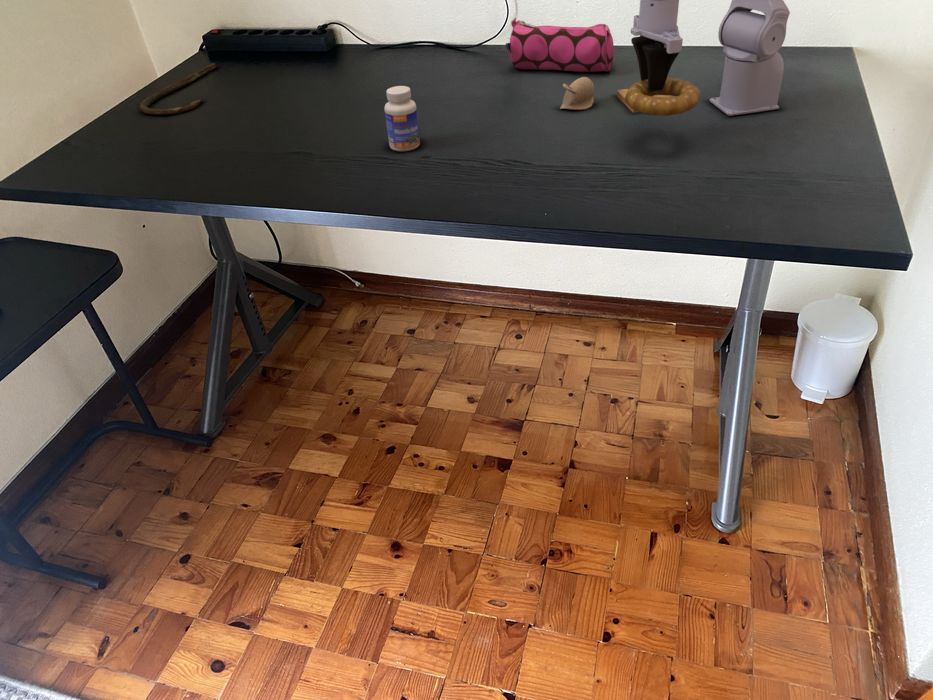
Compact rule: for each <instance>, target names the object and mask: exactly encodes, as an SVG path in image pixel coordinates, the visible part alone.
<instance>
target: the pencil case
mask: <svg viewBox="0 0 933 700" xmlns="http://www.w3.org/2000/svg"><path fill="white" fill-rule="evenodd" d="M510 22H511V23H510V25H511V27H512V30H511V33H510V38H509V42H506V43H505V49H506V50H507V53H509V60H510V63H511V65H512V66H513V67H514V68H516V69H520V70H535V71H536V70H537V71H538V70H539V71H550V70H554V71H564V72H578V73H579V72H580V73H594V72H596V73H597V72H610V71H611V68H612V63H613V60H614V54H615V53H614V52H615V50H614V49H615V48H614V47H615V46H614V39H613V38H614V37H613V35H612V33H611V29H610V28H609V25H607V24H605V23H597V24H594V25H592V26H587V27H586V26H559V25H534V24H532V23H527V22H525V21H524V20H519V19H518V20H517V17H514V18H513V19H512V20H511V21H510Z"/></svg>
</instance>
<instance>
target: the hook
mask: <svg viewBox="0 0 933 700" xmlns="http://www.w3.org/2000/svg"><path fill="white" fill-rule="evenodd" d="M216 68H217V65H216V63H215V62H211V63H209V64H207V66H206V67H203V68H201V69H200V70H198V71H196V72H193V73H192V74H190V75H188V76H187V77H184V78H183V79H180V80H178V81H176V82H174V83H173V84H170V85H168V86H165V87H163V88H161V89H160V90H158V91H156V92H154V93H152V94H151V95H149V96H147V97H146V98H145V99H144V100H142V101H141V102H140V105H139V109H140V111H141V112H142V113H145V114H147V115H152V116H171V115H178V114H183V113H186V112H189V111H191V110H193V109H195V108H196V107H198V106H199V105H200V104H201V103H202V101H203V100H204V99H203V98H201V99H197V100H194V101H192V102H189V103H188V104H186V105H182V106H179V107H173V108H172V107H171V108H170V107H169V108H152V107H151V108H150V106H151V105H152V104H153V103H155V102H156V101H158V100H160V99H161V98H163V97H165V96H168V95H169V94H171V93H174V92H175V91H177V90H180V89H181V88H183V87H186V86H187V85H189V84H191V83H193V82H194V81H196V80H197V79H199V78H201V77H203V76H204V75H206V74H207V73H209V72H211V71H213V70H215V69H216Z"/></svg>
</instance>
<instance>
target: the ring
mask: <svg viewBox="0 0 933 700" xmlns="http://www.w3.org/2000/svg"><path fill="white" fill-rule="evenodd" d="M627 89H628V91H627V93H626V95H625V101H626V103H627V104H628V105H629V106H630V107H631V108H632V109H633V110H635V111H638V112H637V113H641V114H644V115H648V116H663V117H664V116H665V117H666V116H667V117H668V116H673V115H680V114H681V115H682V114H684V113H686V112H688V111H690V110H692V109H694V108H696V107H697V106H698V104H699V102H700V97H701V91H700V89H699V88H698V87H697V86H695V85H694V84H693V83H692V82H690V81H687V80H683V79H679V78H674V77H667V79H666V82H665V85H664V87H663V90H658V91H650V90H649V87H648V79H646V80H642V81H641V80H639V81H637V82H635V83H633V84H631V85H630V86H629V87H628V88H627ZM654 95H671V96H675V97H668V98H663V97H651V96H654Z"/></svg>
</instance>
